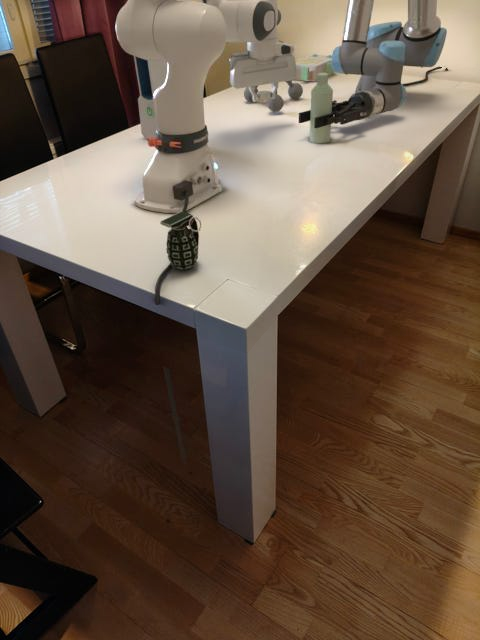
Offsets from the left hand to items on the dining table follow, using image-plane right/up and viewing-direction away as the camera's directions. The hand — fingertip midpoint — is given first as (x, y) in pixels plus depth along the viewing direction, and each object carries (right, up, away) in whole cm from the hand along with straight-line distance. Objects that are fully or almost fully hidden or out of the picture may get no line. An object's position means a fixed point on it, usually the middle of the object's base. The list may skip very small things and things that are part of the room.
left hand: (263, 99), depth 149 cm
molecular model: (+7, +12, +29) cm, 32 cm away
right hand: (+12, -11, -11) cm, 19 cm away
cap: (0, +1, -1) cm, 2 cm away
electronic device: (-31, -10, +4) cm, 33 cm away
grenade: (-18, -57, -58) cm, 83 cm away
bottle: (+16, -14, -4) cm, 22 cm away
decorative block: (+23, +39, +63) cm, 77 cm away
